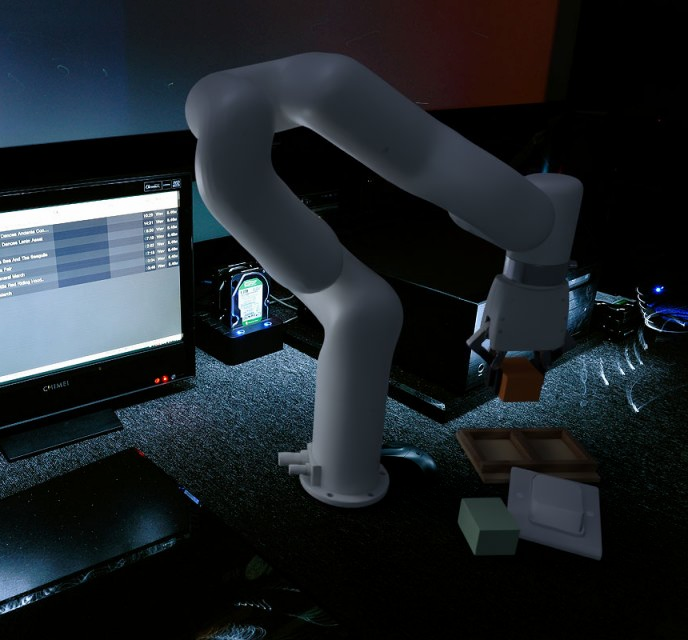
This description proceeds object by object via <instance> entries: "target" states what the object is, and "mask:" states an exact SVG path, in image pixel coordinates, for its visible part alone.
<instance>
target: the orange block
mask: <svg viewBox="0 0 688 640" xmlns="http://www.w3.org/2000/svg"><path fill="white" fill-rule="evenodd" d="M530 361H531V360H529V359H528V358H527V357H526V356H505V358H504V360H503V362H502V364H501V366H500V368H501V369H502V370H503V374H502V379H501V385H500V390H499V394H498V395H497V397H498V398H499V400H500V401H501V402H502V403H540V399H541V394H542V388H543V385H544V384H543V380H544V381H545V379H544V376H543V375H542V374H541V373H540V372H539V371H538V370H537V369H536V368H535V367H534V366H533V365H532V364H531V362H530ZM542 384H543V385H542Z"/></svg>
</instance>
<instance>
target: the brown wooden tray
mask: <svg viewBox="0 0 688 640" xmlns="http://www.w3.org/2000/svg"><path fill="white" fill-rule="evenodd" d="M455 437H456V439H457V441H458V443H459V444H460V446H461V447H462V449H463V452H464V453H465V455H466V456H467V457H468V459H469V461H470V463H471V464H472V466H473V467H474V469H475V471H476V473H477V474H478V476H479V477H480V479H481V481H482V482H483V484H510V475H511V469H512V467H517V468H521V469H525V470H529V471H533V472H537V473H542V474H546V475H550V476H554V477H558V478H562V479H566V480H570V481H574V482H578V483H582V484H584V483H600V482H601V476H600V475H599V474H598V473H597V469H598V467H599V463H598V461H596V459H594V457H593V456H592V454H590V453H589V452H588V451H587V449H586V448H585V447H584V446H583V445H582V443H580V442H579V440H578V439H577V438H576V437H575V436H574V435H573V434H572V433H571V431H570V430H569V429H568V428H567V427H565V426H564V427H563V426H562V427H561V426H560V427H558V426H557V427H551V426H550V427H474V428H473V427H466V428H465V427H461V428H460V429H459V431H456V432H455Z"/></svg>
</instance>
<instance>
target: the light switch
mask: <svg viewBox="0 0 688 640" xmlns="http://www.w3.org/2000/svg"><path fill="white" fill-rule="evenodd" d="M508 486H509V487H508V495H507V496H508V497H507V506H506V508H507V509H508V511H509V512H510V514H511V516H512V517H513V519H514V520H515V522H516V523H517V525H518V526H519V528H520V534H519V538H518V539H521V540H522V539H523V540H525V541H528V542H533V543H535V544H539V545H544V546H546V547H550V548H554V549H556V550H561V551H564V552H568V553H571V554H575V555H578V556H582V557H586V558H589V559H593V560H595V561H601V559H602V557H603V543H602V542H603V541H602V522H601V507H600V506H601V505H600V490H599V488H598V487H597V486H594V485H590V484H586V483H578V482H574V481H570V480H566V479H562V478H558V477H554V476H550V475H546V474H542V473H537V472H533V471H529V470H525V469H521V468H517V467H512V469H511V475H510V483H509V485H508Z"/></svg>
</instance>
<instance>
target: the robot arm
mask: <svg viewBox="0 0 688 640" xmlns="http://www.w3.org/2000/svg"><path fill="white" fill-rule="evenodd" d="M185 100H186V101H185V106H184V113H185V114H184V115H185V120H186V123H187V126H188V128H189V130H190V131H191V133H192V134H193V136H194V137H195V138H196V139H197V143H196V148H195V157H194V173H195V181H196V185H197V189H198V193H199V196H200V198H201V200H202V202H203V204H204V205H205V207H206V209H207V210H208V212H209V213H210V214H211V215H212V216H213V218H214V219H215V220H216V221H217V222H218V223H219V224H220V225H221V226H222V227H223V228H224V229H225V230H226V231H227V232H228V233H229V234H230V235H231V236H232V237H233V238H234V239H235V240H236V241H237V243H239V245H240V246H242V247H243V248H244V249H245V250H246V251H247V252H248V253H249V254H250V255H251V256H252V257H253V258H254V259H255V260H256V261H257V262H258V264H259V265H260V266H261V267H262V269H264V271H265V272H266V273H267V275H268V276H270V277H271V278H272V279H273V280H274V281H275V282H276V283H278V284H279V285H281V287H283V288H286V289H288V290H289V291H290V292H291V293H292V294H294V296H296V298H298V299H299V300H300V302H301V303H303V304H304V306H306V308H308V310H310V312H311V313H312V314H313V316H314V317H316V319H317V320H318V321H319V323H320V324H321V325H322V327H323V329H324V339H323V344H322V347H321V349H320V351H319V355H318V357H317V358H318V359H317V362H316V363H317V365H316V373H315V391H314V392H315V393H314V394H315V395H314V408H313V410H314V411H313V426H312V442H307V444H306V449H300V451H299V452H291V451H289V452H288V451H284V452H283V451H282V452H281V451H280V452H278V455H277V457H278V466H280V467H288V475H289V476H290V475H291V476H292V475H294V476H295V475H297V476H298V475H299V481H300V484H301V486H302V487H303V489H304V490H305V491H306V492H307V493H308V494H309V495H310V496H312V497H313V498H315V499H317V500H318V501H320V502H322V503H325V504H327V505H330V506H334V507H339V508H346V509H348V508H349V509H357V508H364V507H368V506H372V505H374V504H376V503H378V502H380V501H381V500H382V499H383V498H384V497H385V496H386V495H387V493H388V490H389V488H390V476H389V472H388V470H387V469H386V468H385V466H384V465H383V464H382V463H381V457H382V449H383V439H384V438H383V437H384V431H385V420H386V413H387V411H386V410H387V404H388V403H387V402H388V395H389V385H390V378H391V377H390V376H391V368H392V362H393V357H394V354H395V350H396V347H397V344H398V341H399V338H400V336H401V335H400V334H401V331H402V328H403V323H404V309H403V305H402V301H401V299H400V296H399V295H398V294H397V292H396V290H395V289H394V288H393V286H392V285H391V284H390V283H388V281H386V280H385V279H384V278H383V277H382V276H380V275H379V274H378V273H377V272H375V271H374V270H373V269H371V268H370V267H368V266H367V265H366V264H365V263H363V261H361V260H359V259H358V258H357V257H356V256H355V255H354V254H353V253H351V252H350V251H349V250H348V249H347V247H345V245H343V244H342V243H341V242H340V240H339V238H338V236H337V234H336V232H335V231H334V230H333V228H332V227H331V226H330V225H329V224H328V223H327V222H326V221H325V220H324V219H323V218H321V217H320V216H319V215H318V214H317V213H315V212H314V211H313V210H311V209H310V208H309V207H308V206H307V205H306V204H305V203H304V202H303V201H302V200H301V199H300V198H299V197H298V196H297V195H296V194H295V193H294V192H293V191H292V190H291V188H290V187H289V186H288V185H287V184H286V182H285V181H284V180H283V179H282V178H281V177H280V176H279V175H278V174H277V172H276V170H275V169H274V166H273V163H272V162H273V161H272V146H273V142H274V137H275V133H280V132H283V131H288V130H291V129H294V128H299V127H302V126H303V127H306V128H307V129H310V130H312V131H313V132H314V133H317V134H318V135H320V136H321V137H322V138H324V139H326V140H327V141H328V142H330V143H332V144H333V145H334V146H336V147H337V148H339V149H340V150H342V151H344V152H345V153H346V154H347V155H350V156H351V157H353V158H354V159H355V160H357V161H358V162H360V163H362V164H363V165H364V166H365V167H367V168H369V169H370V170H372V171H373V172H374V173H376V174H377V175H379V176H380V177H381V178H383V179H385V180H386V181H387V182H389V183H391V184H393V185H394V186H396V187H398V188H399V189H402V190H403V191H405V192H406V193H408V194H411V195H413V196H416V197H418V198H420V199H422V200H426V201H427V202H429V203H431V204H433V205H435V206H437V207H439V208H441V209H443V210H445V211H447V212H448V214H449V217H450V218H451V220H452V221H453V222H454V223H455V224H456V225H457V226H458V227H460V228H461V229H463V230H464V231H466V232H468V233H471V234H472V235H474V236H476V237H478V238H481V239H484V240H485V241H487V242H489V243H491V244H493V245H495V246H497V247H498V248H500V249H502V250H504V251H506V252H505V258H504V264H503V269H502V273H499V274H496V275H495V277H494V279H493V282H492V284H491V286H490V290H489V291H488V294H487V298H486V301H485V304H484V308H483V312H482V315H481V320H480V325H479V328H478V329H477V331H475V332H474V333H473V334H472V335H471V336H470V337H469V338H468V339H467V340H466V342H465V344H466V345H467V347H468V348H469V349H470V350H471V351H473V352H474V353H475V354H476V355H477V356H478V357H480V358H481V359H482V360H483V361H484V362H485V363H486V366H485V373H484V378H483V382H484V386H486V387H487V389H488V390H489V391H490V392H491V394H492V395H493V396H498V394H499V390H500V385H501V379H502V374H503V370H502V369H501V368H500V366H501V364H502V362H503V360H504V358H505V357H507V354H508V352H533V359H532V358H531V359H530V360H529V361H530V362H531V364H532V365H533V366H534V367H535V368H536V369H537V370H538V371H539V372H540V373H541V374H542V375H543V376H544V380H543V384H542V386H543V385H544V384H545V379H546V374H547V370H549V369H551V368H552V365H553V363H554V362H556V361H557V360H558V359H560V358H561V357H562V356H563V355H564V354H565V353H567V352H568V351H570V350H572V349H573V348H575V347H576V346H577V341H576V340H575V338H574V337H573V335H572V334H571V333H570V330H568V322H569V315H570V282H569V280H568V279H567V278H568V275H569V274H568V273H569V272H572V271H576V270H577V269H578V262H577V261H576V260H572V259H570V258H571V253H572V250H573V244H574V239H575V235H576V230H577V226H578V221H579V216H580V212H581V211H580V210H581V205H582V201H583V197H584V185H583V183H582V181H581V180H579V179H578V178H577V177H574V176H572V175H567V174H563V173H554V172H553V173H552V172H537V173H532V174H527V175H523V174H521V173H520V172H518V171H517V170H516V169H514V168H513V167H512V166H510V165H509V164H507V163H505V161H502V159H501V160H500V159H499V158H497V157H496V156H495V155H493V154H492V153H490V152H488V151H487V150H485V149H483V148H481V147H480V146H479V145H477V144H475V143H473V141H471V140H469V139H468V138H466V137H464V136H463V135H462V134H460V133H459V132H457V131H456V130H454V129H453V128H451V127H449V126H448V125H446V124H444V123H443V122H441V121H440V120H438V119H436V118H435V117H434V116H433V115H432V114H430V113H428V112H426V110H424V109H423V108H421V107H420V106H419V105H417V104H416V103H414V102H413V101H411V99H409V98H407V96H405V95H403V93H401V92H399V90H398V89H396V88H395V87H393V86H392V85H390V84H389V83H388V82H386V81H385V80H384V79H383V78H382V77H380V76H378V74H376V73H374V71H372V70H370V69H369V68H368V67H367V66H365V65H364V64H362V63H360V62H359V61H358V60H356V59H355V58H352V57H351V56H348V55H346V54H345V55H344V54H341V53H334V52H333V53H332V52H324V51H323V52H321V51H311V52H304V53H299V54H294V55H290V56H286V57H282V58H278V59H273V60H268V61H263V62H259V63H254V64H249V65H243V66H240V67H239V66H238V67H233V68H230V69H224V70H220V71H216V72H215V71H214V72H212V73H209V74H207V75H206V76H204V77H202V78H200V79H199V80H198V81H196V82H195V84H194V85H193V86H192V88H191V89H190V90H189V93H188V94H187V97H186V99H185ZM486 340H489V346H488V348H486V347H484V346H483V344H484V342H486Z"/></svg>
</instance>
